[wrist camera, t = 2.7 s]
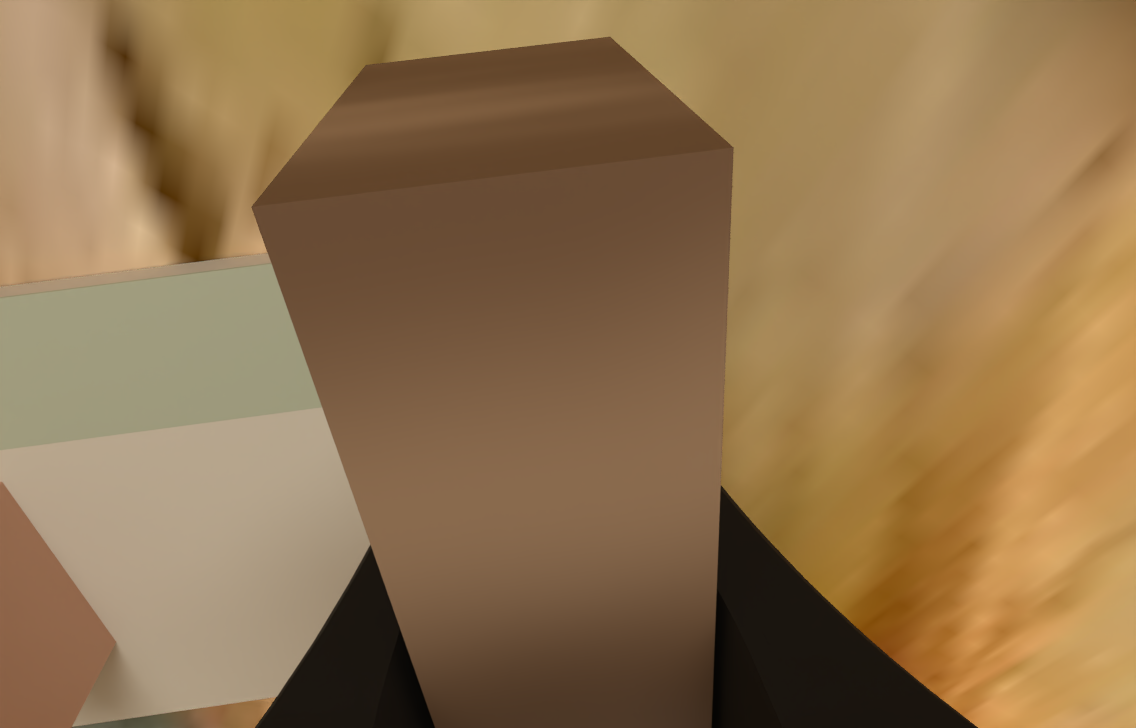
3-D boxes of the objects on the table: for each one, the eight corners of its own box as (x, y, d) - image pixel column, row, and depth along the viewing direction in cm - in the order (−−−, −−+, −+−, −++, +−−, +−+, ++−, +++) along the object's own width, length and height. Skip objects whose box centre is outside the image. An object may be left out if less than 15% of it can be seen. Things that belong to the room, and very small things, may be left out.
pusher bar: (641, 641, 15) (704, 917, 11) (504, 661, 15) (513, 950, 11) (610, 36, 9) (733, 147, 4) (365, 64, 8) (252, 206, 4)
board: (460, 653, 22) (460, 670, 22) (-94, 733, 22) (-109, 753, 21) (342, 243, 15) (337, 255, 14) (-513, 351, 14) (-551, 368, 14)
